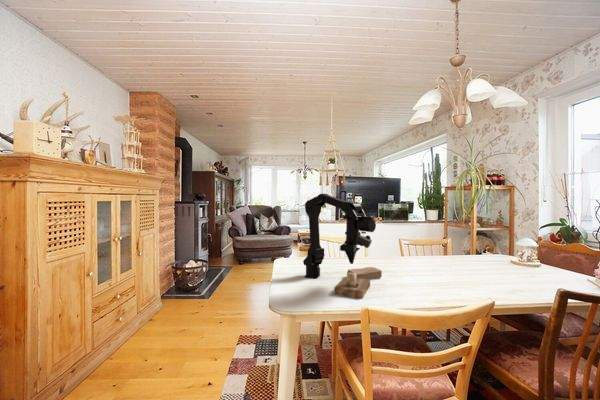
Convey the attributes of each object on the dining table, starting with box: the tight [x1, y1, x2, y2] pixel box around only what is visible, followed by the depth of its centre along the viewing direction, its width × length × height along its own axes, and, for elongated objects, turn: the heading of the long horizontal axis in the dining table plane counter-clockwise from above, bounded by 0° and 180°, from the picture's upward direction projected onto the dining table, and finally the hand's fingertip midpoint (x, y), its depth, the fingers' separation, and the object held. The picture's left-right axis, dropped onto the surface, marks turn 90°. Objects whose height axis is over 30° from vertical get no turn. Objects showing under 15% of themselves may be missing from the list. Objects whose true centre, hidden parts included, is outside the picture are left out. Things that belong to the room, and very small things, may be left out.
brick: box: [346, 266, 382, 281], centre depth 147 cm, size 17×8×5 cm, turn 112°
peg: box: [346, 272, 356, 288], centre depth 125 cm, size 4×4×8 cm
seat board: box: [333, 276, 371, 300], centre depth 127 cm, size 12×18×3 cm, turn 157°
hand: (351, 263), depth 130 cm, fingers closed
